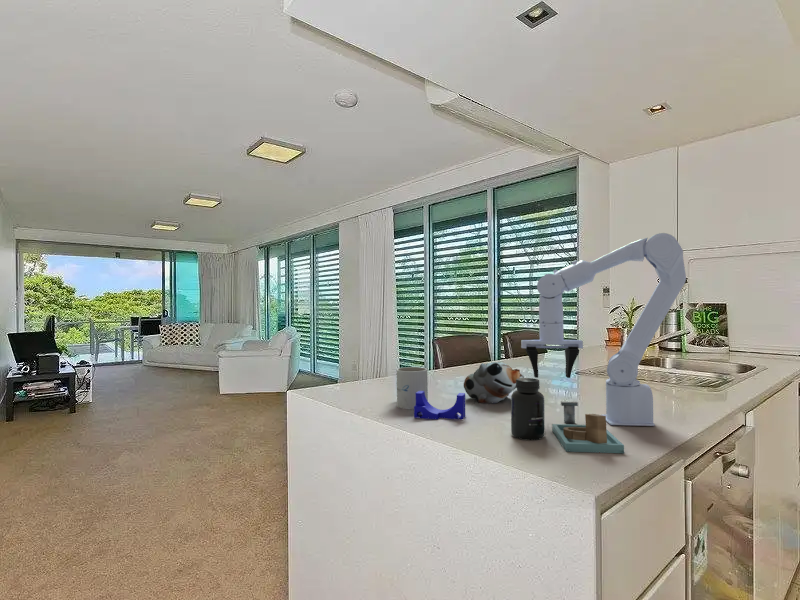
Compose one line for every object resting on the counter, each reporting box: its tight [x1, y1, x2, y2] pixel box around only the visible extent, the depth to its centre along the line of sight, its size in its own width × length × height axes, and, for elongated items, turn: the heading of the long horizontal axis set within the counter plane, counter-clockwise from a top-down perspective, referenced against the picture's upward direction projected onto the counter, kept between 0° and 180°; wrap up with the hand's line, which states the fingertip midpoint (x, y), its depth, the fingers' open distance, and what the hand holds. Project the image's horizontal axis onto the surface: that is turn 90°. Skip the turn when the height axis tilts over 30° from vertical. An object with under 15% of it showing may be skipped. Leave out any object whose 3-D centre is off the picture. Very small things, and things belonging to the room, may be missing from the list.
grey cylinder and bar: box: [560, 401, 579, 425], centre depth 105 cm, size 4×2×5 cm, turn 82°
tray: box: [551, 423, 625, 454], centre depth 91 cm, size 10×14×2 cm
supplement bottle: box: [510, 377, 546, 441], centre depth 95 cm, size 7×7×12 cm
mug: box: [396, 366, 429, 410], centre depth 126 cm, size 12×9×10 cm
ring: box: [563, 413, 607, 443], centre depth 89 cm, size 9×6×5 cm, turn 20°
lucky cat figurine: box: [463, 361, 525, 404], centre depth 129 cm, size 15×12×14 cm
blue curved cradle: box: [413, 391, 466, 420], centre depth 111 cm, size 12×4×6 cm, turn 72°
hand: (552, 377), depth 112 cm, fingers open, 7 cm apart
